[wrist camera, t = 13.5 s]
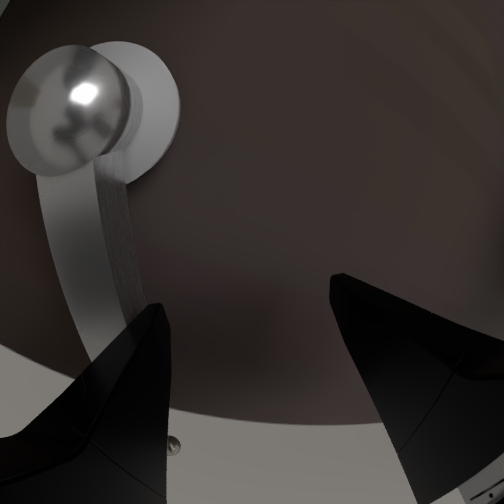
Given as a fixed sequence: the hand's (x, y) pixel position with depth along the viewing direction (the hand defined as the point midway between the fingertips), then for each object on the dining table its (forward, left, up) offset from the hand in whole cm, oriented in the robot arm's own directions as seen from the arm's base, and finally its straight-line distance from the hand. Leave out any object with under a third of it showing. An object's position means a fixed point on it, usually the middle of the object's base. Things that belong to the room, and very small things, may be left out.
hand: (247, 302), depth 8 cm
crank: (-3, -3, -2) cm, 5 cm away
